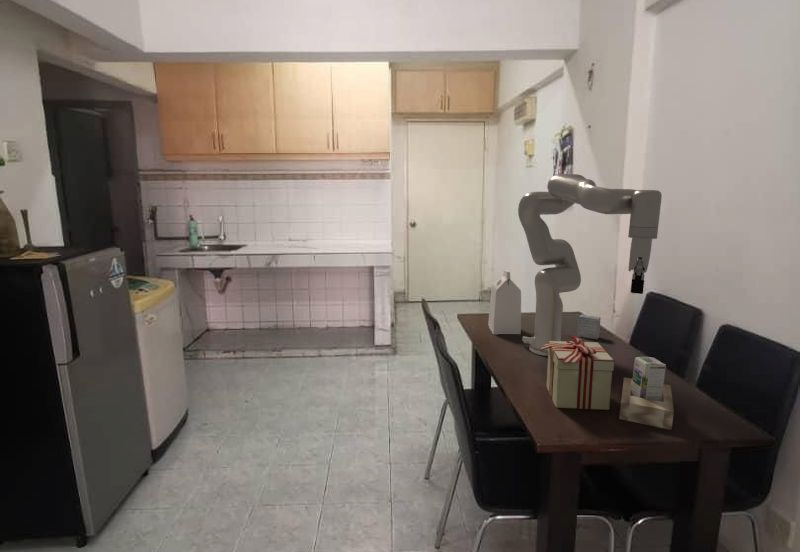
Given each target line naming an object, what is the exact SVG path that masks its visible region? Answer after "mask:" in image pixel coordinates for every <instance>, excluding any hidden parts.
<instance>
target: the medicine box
mask: <svg viewBox="0 0 800 552" xmlns="http://www.w3.org/2000/svg"><path fill="white" fill-rule="evenodd" d="M600 328H601V316H595V315H589V314H580V315H579V316H578V321H577V333H576V335H577V336H576V337H577V338H585V339H590V340H591V339H593V340H598V339H599V337H600V331H601V330H600Z"/></svg>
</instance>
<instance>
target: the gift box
mask: <svg viewBox="0 0 800 552" xmlns="http://www.w3.org/2000/svg"><path fill="white" fill-rule="evenodd" d="M569 338H570V339H573V340H569V341H568V340H567V341H566V340H565V341H563V340H560V341H548V343H546V344H545V345H544V346H543V347H542V348H541V349H539V350H544V349H547V351H548V356H547V370H546V372H547V373H546V385H545V386H546V389H547V392H548V395H549V396H550V398H551V401H552V402H553V405H554V406H555V408H556V409H572V410H573V409H575V410H576V409H577V410H593V411H594V410H596V411H597V410H598V411H599V410H600V411H610V402H611V390H612V389H611V388H612V379H613V378H612V377H613V372H614V369H615V360H614V359H613V357H611V355H610V354H609V353H608V352H607V351H606V349H604V347H602V345H600V343H599V342H597V341H596V342H595V341H584V340H583V339H581V338H580V337H577V336H574V335H570V336H569Z"/></svg>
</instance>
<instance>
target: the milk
mask: <svg viewBox="0 0 800 552" xmlns="http://www.w3.org/2000/svg"><path fill="white" fill-rule="evenodd" d="M487 325H488V326H489V327H488V326H487V327H488V328H489V330H490V332H491V331H492V332H491V333H492V335H498V334H522V333H521V332H522V291H521V289H520V288H519V286H518V285H517V284H516V283H515V282H514V281H513V280H512V279H511V271H510V270H509V269H503V273H502V276H501V277H499V278H498V279H497V280H496V281H495V282H493V284H492V285H491V289H490V301H489V310H488V323H487Z"/></svg>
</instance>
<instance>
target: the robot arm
mask: <svg viewBox="0 0 800 552" xmlns="http://www.w3.org/2000/svg"><path fill="white" fill-rule="evenodd" d="M546 188H547V191H531V192H527V193H526V194H524V195H523V196H522V197H521V198H520V200H519V203H518V207H517V208H518V209H517V214H518V218H519V221H520V225H521V226H522V228H523V231H524V233H525V237H526V240H527V245H528V248H529V251H530V255H531V258H532V261H533V262H534V263H535V264H536V265H537V266H553V267H545V268H543V269H541V270H539V271H538V272H537V273H536V274H535V277H534V288H535V317H534V332H533V334H534V335H533V336H531V337H529V336H524V335H523V336H522V339H521V341H522V342H523V343H524V344H529V346H528V350H529V351H530V352H531V353H533V354H535V355H538V356H544V357H548V351H547V349H544V350H539V349H541V348H542V347H543V346H544V345H545V344H546V343H548V341H562V340H561V338H562V337H561V336H562V327H563V325H562V324H563V313H564V312H563V311H564V304H563V301H562V298H561V295H560V294H561V293H569V292H573V291H576V290H578V289H579V287H580V285H581V282H582V278H581V277H582V276H581V272H580V268H579V265H578V262H577V259H576V254H575V252H574V249H573V247H572V245H571V244H570V243H569V242H568V241H567V240H565V239H561V238H556V239H555V238H552V234H551V233H550V229H549V227H548V225H547V223H546V222H545V220H543V218H542V217H541V215H545V216H548V215H559V214H561V213H563V212H565V211H566V210H568V209H569V208H570V207H572V206H573V205H575V204H577V205H580V206H581V207H582V208H584V209H586V210H589V211H592V212H596V213H599V214H604V215H630V217H629V226H628V237H627V238H631V242H630V248H629V249H630V250H629V258H628V259H629V261H628V269H627V271H629V272H631V271H633V273H632V277H631V278H632V279H631V285H630V294H639V295H643V293H644V287H645V286H644V285H645V273H647V272H648V268H649V265H650V258H651V253H652V245H653V244H652V243H653V240H657V239H658V233H659V225H660V223H659V222H660V214H661V204H662V191H660V190H657V189H632V188H606V187H600V186H597V184H596V182H595V181H594V180H592V179H590V178H589V179H588V178H586V177H585V176H584V175H581V174H576V173H575V174H574V173H572V174H571V173H560V174H559V173H558V174H555V175H553V176H552V177H550V179H549V180H548V182H547V187H546ZM554 266H555V267H554Z"/></svg>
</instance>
